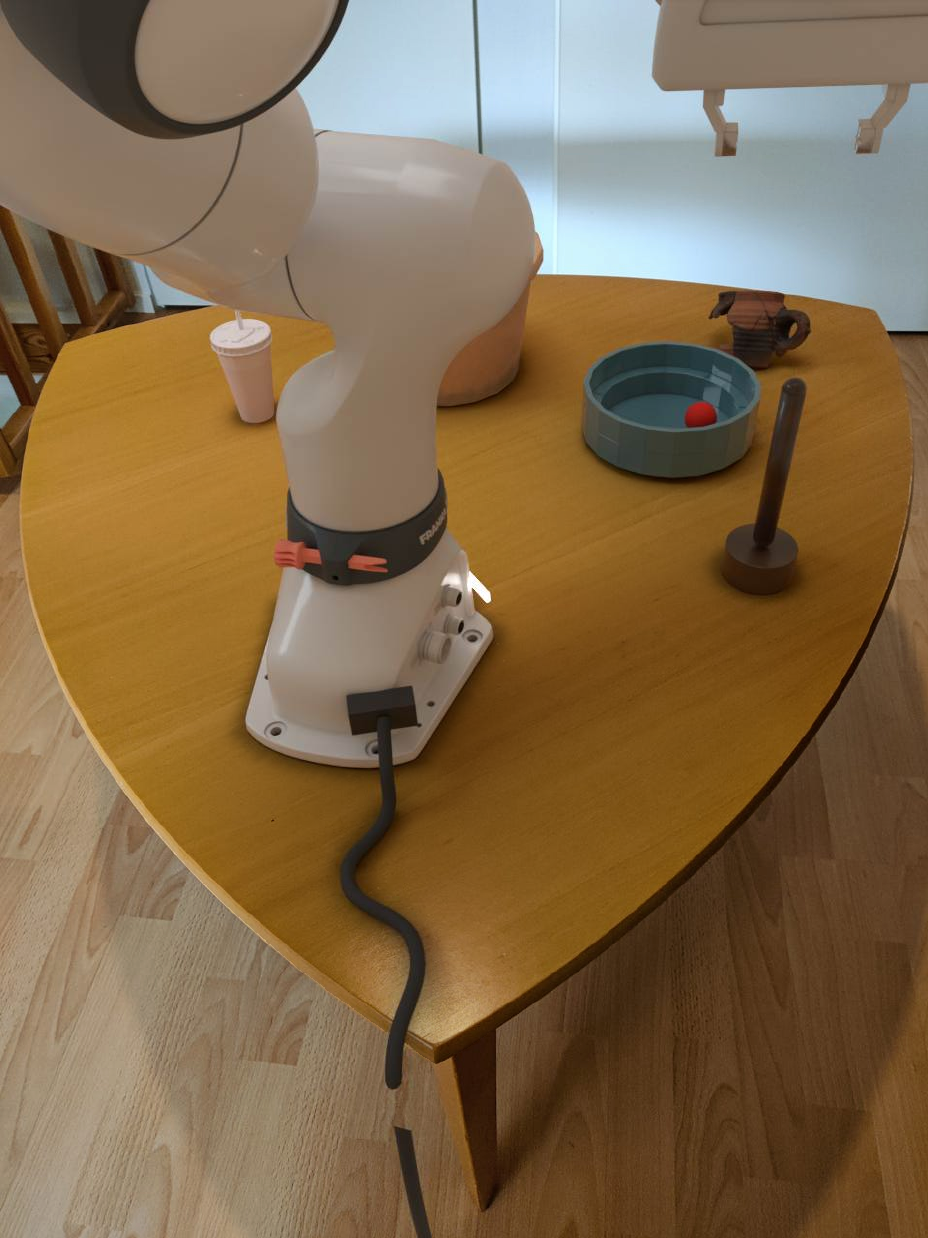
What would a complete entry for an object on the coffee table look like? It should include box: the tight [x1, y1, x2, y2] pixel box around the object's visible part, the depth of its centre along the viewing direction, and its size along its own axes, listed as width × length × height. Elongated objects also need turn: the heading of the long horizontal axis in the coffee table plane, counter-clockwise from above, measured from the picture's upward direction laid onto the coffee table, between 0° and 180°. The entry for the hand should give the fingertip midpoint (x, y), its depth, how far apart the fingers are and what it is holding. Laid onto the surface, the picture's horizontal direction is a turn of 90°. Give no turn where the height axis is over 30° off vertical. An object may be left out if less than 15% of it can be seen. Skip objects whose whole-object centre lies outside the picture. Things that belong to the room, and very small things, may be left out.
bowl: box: [581, 340, 762, 479], centre depth 101 cm, size 17×17×6 cm
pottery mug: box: [708, 289, 812, 369], centre depth 113 cm, size 12×10×8 cm
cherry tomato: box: [685, 402, 717, 428], centre depth 101 cm, size 3×3×3 cm
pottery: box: [437, 230, 545, 407], centre depth 110 cm, size 22×22×14 cm
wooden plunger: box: [720, 376, 808, 596], centre depth 80 cm, size 6×6×19 cm
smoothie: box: [209, 310, 275, 424], centre depth 105 cm, size 6×6×14 cm
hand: (794, 152), depth 70 cm, fingers open, 8 cm apart
